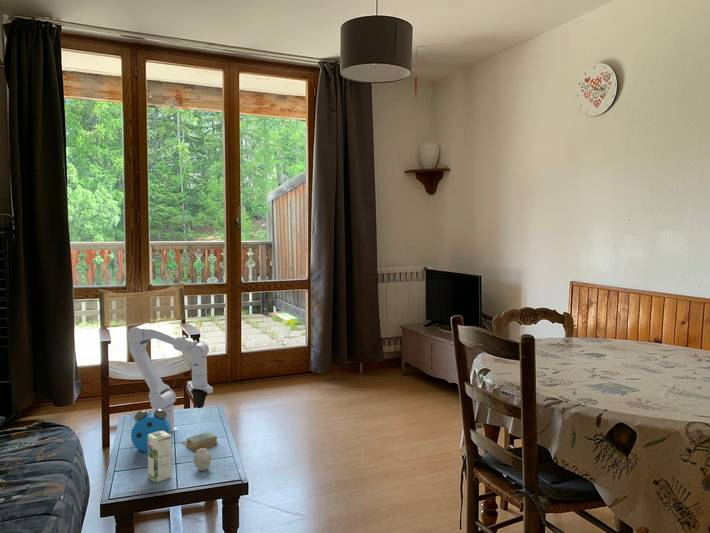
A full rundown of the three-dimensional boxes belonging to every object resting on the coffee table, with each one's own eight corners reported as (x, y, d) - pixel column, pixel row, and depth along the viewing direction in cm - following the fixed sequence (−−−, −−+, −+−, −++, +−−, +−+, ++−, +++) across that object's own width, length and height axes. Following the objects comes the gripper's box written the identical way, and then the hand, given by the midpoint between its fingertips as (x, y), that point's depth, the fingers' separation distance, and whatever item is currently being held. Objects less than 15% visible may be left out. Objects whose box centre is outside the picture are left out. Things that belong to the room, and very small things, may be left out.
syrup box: (147, 477, 175) (146, 434, 174) (165, 471, 179) (163, 429, 178) (155, 483, 171) (153, 439, 170) (172, 477, 175) (171, 434, 174)
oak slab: (186, 438, 199) (193, 442, 195) (209, 431, 205) (216, 436, 201) (187, 445, 199) (194, 450, 195) (209, 439, 205) (216, 444, 201)
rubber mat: (180, 443, 203) (180, 442, 203) (205, 436, 209) (205, 435, 209) (193, 453, 194) (193, 452, 194) (219, 445, 201) (219, 444, 201)
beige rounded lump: (209, 463, 185) (208, 444, 185) (214, 471, 179) (214, 451, 179) (191, 467, 182) (190, 447, 182) (196, 475, 176) (195, 455, 176)
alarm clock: (171, 444, 201) (170, 405, 200) (169, 451, 195) (168, 411, 194) (134, 448, 199) (133, 408, 198) (131, 454, 193) (129, 414, 192)
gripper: (180, 372, 213) (181, 406, 214) (201, 379, 204) (202, 414, 205) (195, 369, 218) (196, 401, 219) (217, 375, 209) (217, 409, 210)
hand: (200, 407), depth 212 cm, fingers closed
